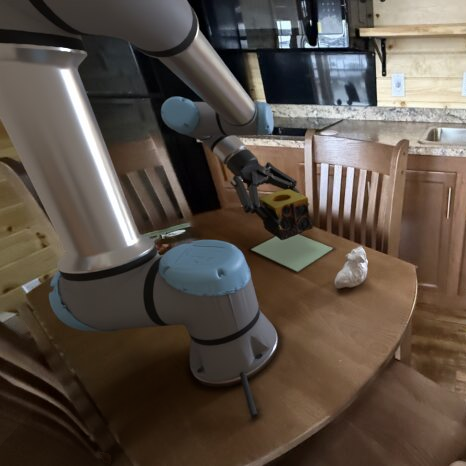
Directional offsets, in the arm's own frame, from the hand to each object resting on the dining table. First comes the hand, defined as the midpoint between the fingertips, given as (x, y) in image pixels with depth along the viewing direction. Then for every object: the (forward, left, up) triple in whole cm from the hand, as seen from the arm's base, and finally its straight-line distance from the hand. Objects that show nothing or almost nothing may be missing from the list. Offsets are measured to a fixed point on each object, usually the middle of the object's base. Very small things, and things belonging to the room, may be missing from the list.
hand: (293, 216), depth 88 cm
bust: (-19, -13, -12) cm, 26 cm away
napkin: (+1, +2, -12) cm, 12 cm away
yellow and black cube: (+1, +2, -5) cm, 5 cm away
